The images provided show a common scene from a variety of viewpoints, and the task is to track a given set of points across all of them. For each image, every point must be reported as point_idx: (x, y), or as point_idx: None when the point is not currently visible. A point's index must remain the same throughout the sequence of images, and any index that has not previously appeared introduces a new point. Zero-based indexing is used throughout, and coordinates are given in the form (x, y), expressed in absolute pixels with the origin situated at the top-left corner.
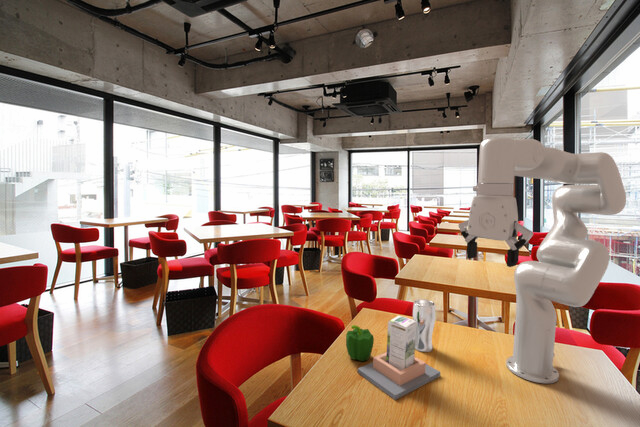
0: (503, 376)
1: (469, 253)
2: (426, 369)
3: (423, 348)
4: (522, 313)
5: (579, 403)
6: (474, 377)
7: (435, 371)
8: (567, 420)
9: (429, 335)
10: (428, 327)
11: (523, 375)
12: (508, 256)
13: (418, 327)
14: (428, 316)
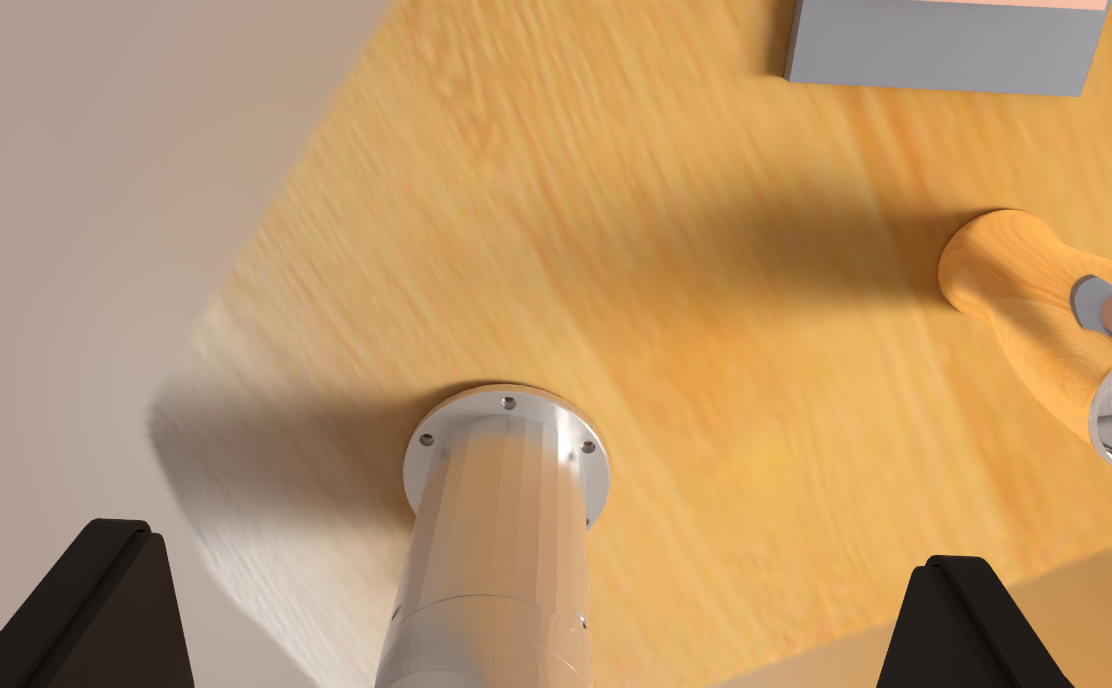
0: (566, 335)
1: (982, 630)
2: (860, 35)
3: (978, 230)
4: (521, 633)
5: (289, 384)
6: (653, 217)
7: (812, 62)
8: (260, 232)
9: (991, 290)
10: (1023, 296)
11: (499, 391)
12: (12, 673)
13: (1085, 258)
14: (1070, 325)
